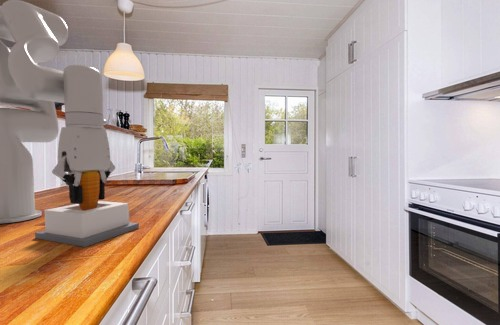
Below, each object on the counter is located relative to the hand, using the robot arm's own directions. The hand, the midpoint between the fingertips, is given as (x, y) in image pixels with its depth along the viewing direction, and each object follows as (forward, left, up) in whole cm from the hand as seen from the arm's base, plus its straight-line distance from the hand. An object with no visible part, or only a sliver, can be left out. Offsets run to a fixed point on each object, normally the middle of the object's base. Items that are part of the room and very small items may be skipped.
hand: (88, 200), depth 63 cm
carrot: (0, 0, -5) cm, 5 cm away
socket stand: (0, 0, -8) cm, 8 cm away
